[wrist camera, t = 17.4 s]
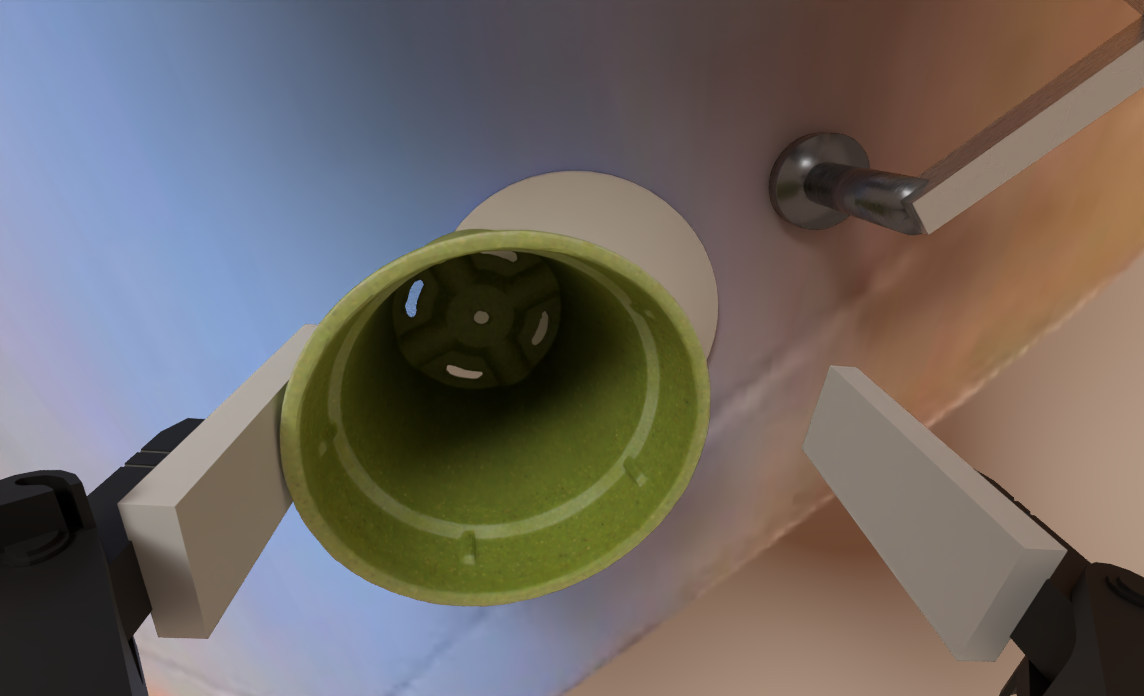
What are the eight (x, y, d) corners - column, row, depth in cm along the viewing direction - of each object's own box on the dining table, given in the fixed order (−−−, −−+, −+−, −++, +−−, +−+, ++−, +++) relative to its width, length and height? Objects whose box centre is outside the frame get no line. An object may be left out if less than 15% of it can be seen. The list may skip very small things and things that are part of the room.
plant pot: (317, 406, 19) (253, 606, 12) (360, 136, 16) (312, 170, 9) (560, 437, 23) (634, 609, 15) (635, 217, 20) (775, 292, 12)
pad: (429, 429, 23) (426, 437, 22) (430, 153, 18) (426, 155, 18) (684, 445, 24) (688, 453, 23) (742, 187, 19) (748, 189, 19)
